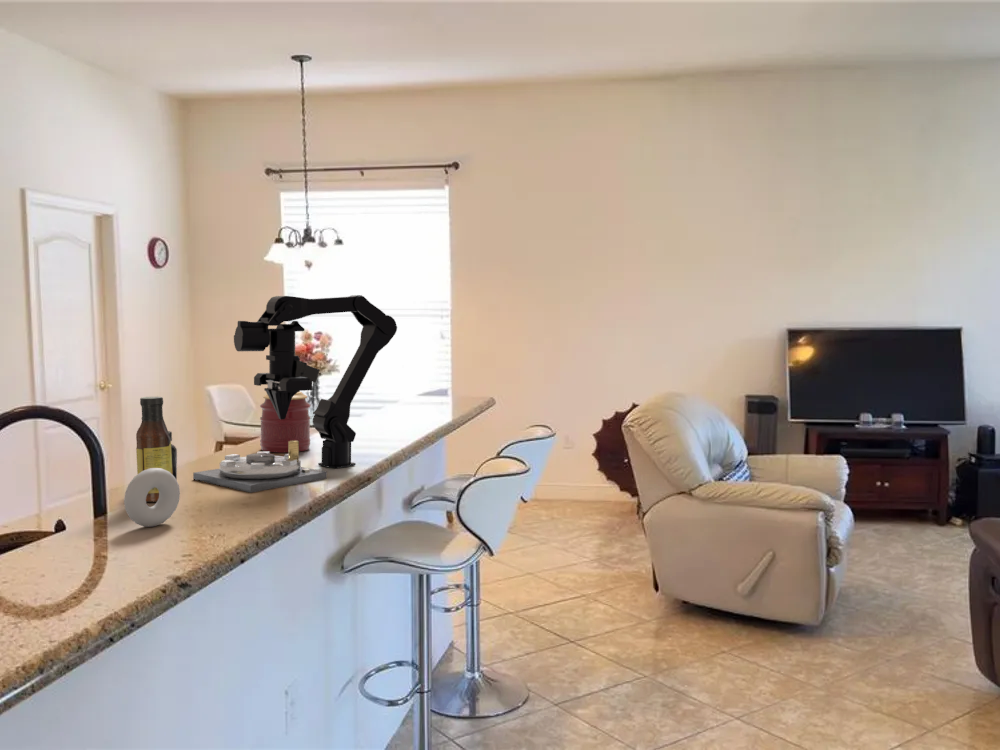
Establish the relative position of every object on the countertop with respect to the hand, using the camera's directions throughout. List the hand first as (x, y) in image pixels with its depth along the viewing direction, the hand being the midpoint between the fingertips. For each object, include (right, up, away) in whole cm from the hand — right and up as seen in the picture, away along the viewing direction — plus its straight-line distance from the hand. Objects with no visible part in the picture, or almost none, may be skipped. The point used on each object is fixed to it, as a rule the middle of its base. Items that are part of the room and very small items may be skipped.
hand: (282, 419), depth 193 cm
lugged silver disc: (-2, -11, -9) cm, 14 cm away
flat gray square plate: (-2, -13, -9) cm, 15 cm away
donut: (-9, -16, -50) cm, 53 cm away
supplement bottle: (-19, -14, -22) cm, 32 cm away
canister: (-7, -10, +31) cm, 34 cm away
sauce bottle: (-17, -14, -31) cm, 38 cm away
